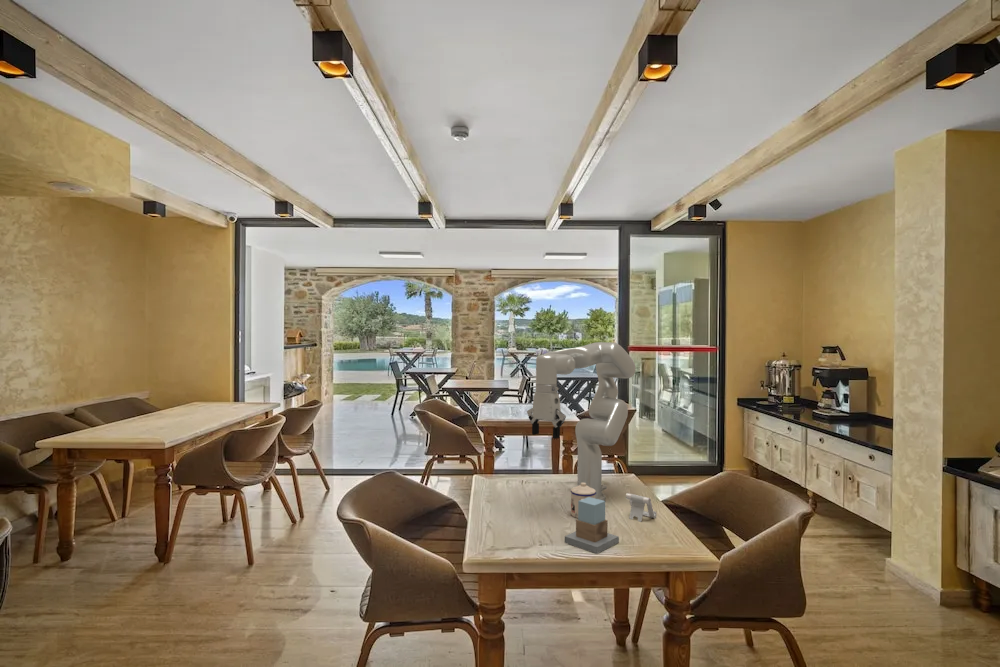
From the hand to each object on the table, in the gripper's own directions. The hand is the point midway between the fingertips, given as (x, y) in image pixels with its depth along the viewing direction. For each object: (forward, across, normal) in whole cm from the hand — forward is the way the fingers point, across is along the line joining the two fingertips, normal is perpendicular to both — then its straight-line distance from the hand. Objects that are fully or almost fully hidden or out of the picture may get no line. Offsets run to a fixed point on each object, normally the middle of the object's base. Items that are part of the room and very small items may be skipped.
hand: (545, 436), depth 190 cm
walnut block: (+26, -27, +10) cm, 39 cm away
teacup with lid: (+28, -11, -8) cm, 32 cm away
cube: (+21, -27, +10) cm, 36 cm away
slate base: (+28, -27, +10) cm, 40 cm away
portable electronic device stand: (+29, -26, -22) cm, 44 cm away
